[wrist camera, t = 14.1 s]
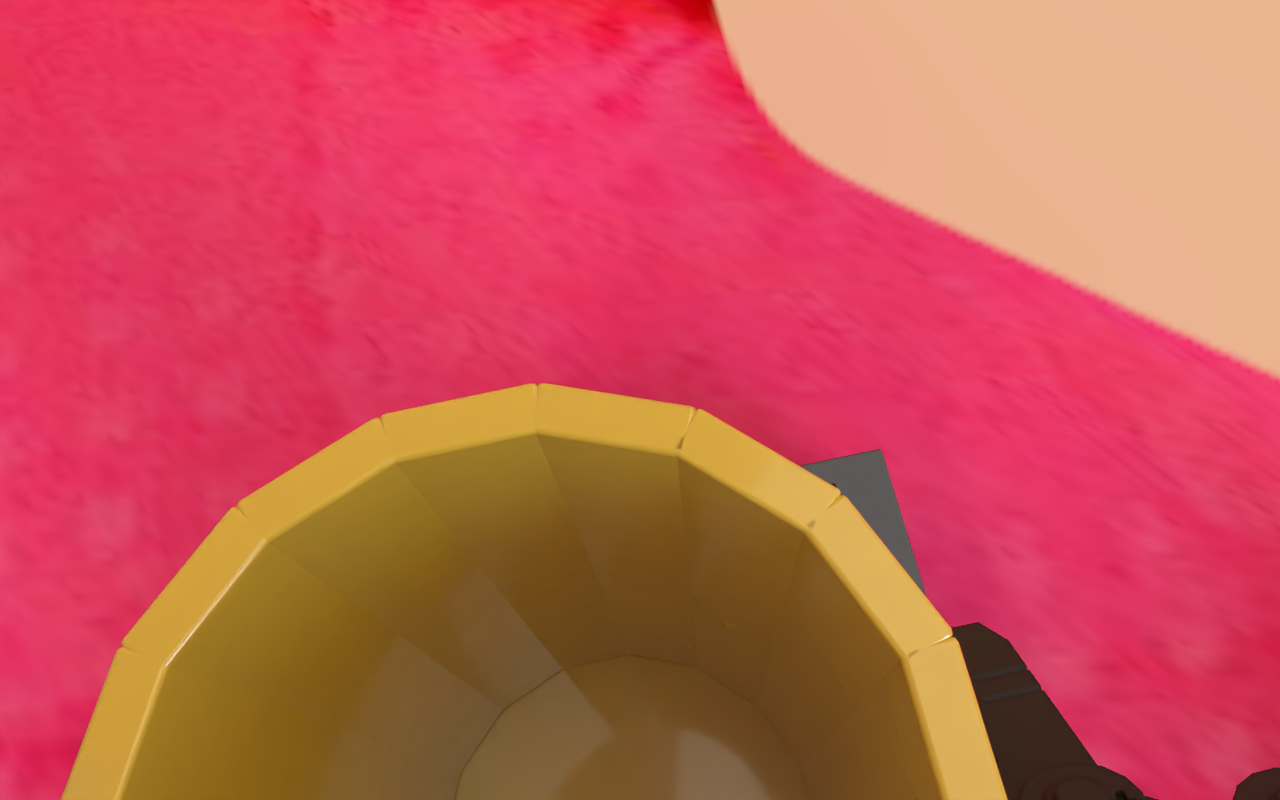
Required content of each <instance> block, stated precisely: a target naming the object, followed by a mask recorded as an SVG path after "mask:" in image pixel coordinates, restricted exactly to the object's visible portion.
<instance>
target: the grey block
mask: <svg viewBox="0 0 1280 800" xmlns="http://www.w3.org/2000/svg"><path fill="white" fill-rule="evenodd" d="M800 467H802V468H804V469H806V470H807V471H809V472H811V473H812V474H814V475H816V476H818V477H819V478H821V479H823V480H824V481H826V482H828V483H830V484H832V483H835V484H836V486H837V488H838V489H839V490H840V491H841V494H842V495H844V496H846V497H847V498H848V499H849V500H850V501H851V503H852V504H853V505H854V506H855V508H856V509H857V510H858V511H859V513H860V514H861V515H862V516H863V518H864V519H865V520H866V521H867V523H868V524H869V525H870V526H871V528H872V529H873V530H874V532H875V533H876V534H877V535H878V537H879V538H880V539H881V540H882V542H883V543H884V544H885V545H886V547H887V548H888V549H889V550H890V552H891V553H892V554H893V555H894V557H895V558H896V559H897V561H898V562H899V563H900V564H901V566H902V567H903V568H904V569H905V571H906V572H907V573H908V574H909V576H910V577H911V578H912V579H913V581H914V582H915V583H916V584H917V586H918V587H919V588H920V589H921V591H922V592H923V593H924V595H925V596H926V593H925V590H924V587H923V583H922V580H921V577H920V573H919V570H918V567H917V564H916V560H915V557H914V554H913V551H912V547H911V544H910V541H909V537H908V534H907V531H906V528H905V524H904V521H903V518H902V515H901V511H900V508H899V505H898V502H897V498H896V495H895V492H894V488H893V485H892V482H891V479H890V475H889V472H888V469H887V466H886V462H885V459H884V456H883V452H882V451H881V450H880V449H877V450H872V451H868V452H863V453H858V454H853V455H848V456H844V457H839V458H834V459H829V460H825V461H820V462H815V463H810V464H806V465H801V466H800ZM926 597H927V596H926Z"/></svg>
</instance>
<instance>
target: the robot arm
mask: <svg viewBox="0 0 1280 800" xmlns="http://www.w3.org/2000/svg"><path fill="white" fill-rule="evenodd" d="M831 485H833V486H835V487H836V488H837V486H836V484H835V483H832V484H831ZM841 495H842V494H841ZM951 629H952V632H953V635H952V637H955V638H956V639H957V641H958V642H959V644H960V648H961V651H962V654H963V657H964V660H965V664H966V667H967V670H968V673H969V676H970V679H971V683H972V686H973V689H974V692H975V695H976V699H977V702H978V705H979V708H980V711H981V715H982V718H983V721H984V724H985V727H986V730H987V734H988V737H989V740H990V743H991V746H992V750H993V753H994V756H995V759H996V762H997V766H998V769H999V772H1000V775H1001V778H1002V781H1003V785H1004V788H1005V791H1006V794H1007V797H1008V800H1158V799H1154V798H1150V797H1147V796H1144V795H1143V792H1142V791H1141V790H1139V789H1138V788H1137V787H1136V786H1135V785H1134V784H1133V783H1132V782H1131V781H1129V780H1128V779H1127V778H1126V777H1125V776H1122V775H1120V774H1118V773H1116V772H1114V771H1112V770H1109V769H1107V768H1105V767H1102V766H1098V765H1097V764H1096V763H1095V761H1094V760H1093V759H1092V757H1091V756H1090V754H1089V753H1088V752H1087V750H1086V749H1085V747H1084V746H1083V745H1082V743H1081V742H1080V740H1079V739H1078V738H1077V736H1076V735H1075V733H1074V732H1073V731H1072V729H1071V728H1070V726H1069V725H1068V724H1067V722H1066V721H1065V719H1064V718H1063V717H1062V715H1061V714H1060V712H1059V711H1058V709H1057V708H1056V707H1055V705H1054V704H1053V702H1052V701H1051V700H1050V698H1049V697H1048V695H1047V694H1046V693H1045V691H1042V690H1041V686H1040V684H1039V683H1038V681H1037V680H1036V679H1035V677H1034V676H1033V674H1032V673H1031V672H1030V670H1029V671H1028V670H1027V668H1026V665H1025V663H1024V662H1023V660H1022V659H1021V658H1020V656H1019V655H1018V653H1017V652H1016V651H1015V649H1014V648H1013V646H1012V645H1011V643H1010V642H1009V641H1008V640H1007V639H1005V638H1003V637H1002V636H1000V635H998V634H997V633H995V632H993V631H992V630H990V629H988V628H987V627H985V626H984V625H982V624H980V623H979V622H977V623H972V624H967V625H963V626H958V627H953V628H951ZM1233 800H1280V768H1272V769H1268V770H1264V771H1260V772H1256V773H1253V774H1251V775H1250V776H1249V777H1247V778H1246V779H1245V780H1244V781H1242V782H1241V783H1240V784H1239V785H1237V788H1236V791H1235V794H1234V798H1233Z"/></svg>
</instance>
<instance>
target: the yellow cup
mask: <svg viewBox="0 0 1280 800" xmlns="http://www.w3.org/2000/svg"><path fill="white" fill-rule="evenodd" d="M952 635H953V632H952V629H951V627H950V626H949V625H948V624H947V622H946V621H945V620H944V618H943V617H942V616H941V615H940V613H939V612H938V611H937V610H936V608H935V607H934V606H933V605H932V603H931V602H930V601H929V600H928V598H927V597H926V596H925V595H924V593H923V592H922V591H921V589H920V588H919V587H918V586H917V584H916V583H915V582H914V581H913V579H912V578H911V577H910V576H909V574H908V573H907V572H906V571H905V569H904V568H903V567H902V566H901V564H900V563H899V562H898V561H897V559H896V558H895V557H894V555H893V554H892V553H891V552H890V550H889V549H888V548H887V547H886V545H885V544H884V543H883V542H882V540H881V539H880V538H879V537H878V535H877V534H876V533H875V532H874V530H873V529H872V528H871V526H870V525H869V524H868V523H867V521H866V520H865V519H864V518H863V516H862V515H861V514H860V513H859V511H858V510H857V509H856V508H855V506H854V505H853V504H852V503H851V501H850V500H849V499H848V498H847V497H846V496H844V495H841V491H840V490H839V489H838V488H836V487H835V486H833V485H831V484H830V483H828V482H826V481H824V480H823V479H821V478H819V477H818V476H816V475H814V474H812V473H811V472H809V471H807V470H806V469H804V468H802V467H800V466H799V465H797V464H795V463H794V462H792V461H790V460H788V459H787V458H785V457H783V456H782V455H780V454H778V453H776V452H775V451H773V450H771V449H770V448H768V447H766V446H764V445H763V444H761V443H759V442H758V441H756V440H754V439H752V438H751V437H749V436H747V435H746V434H744V433H742V432H740V431H739V430H737V429H735V428H734V427H732V426H730V425H728V424H727V423H725V422H723V421H722V420H720V419H718V418H716V417H715V416H713V415H711V414H710V413H708V412H706V411H704V410H702V409H697V410H696V409H695V408H693V407H692V406H686V405H680V404H674V403H667V402H661V401H655V400H648V399H642V398H636V397H629V396H623V395H617V394H610V393H604V392H598V391H591V390H585V389H579V388H572V387H566V386H560V385H553V384H547V383H541V384H539V386H538V385H537V384H533V383H530V384H526V385H521V386H516V387H511V388H506V389H502V390H497V391H492V392H487V393H482V394H478V395H473V396H468V397H463V398H459V399H454V400H449V401H444V402H439V403H435V404H430V405H425V406H420V407H415V408H411V409H406V410H401V411H396V412H391V413H387V414H384V415H382V416H381V419H379V418H374V419H372V420H370V421H368V422H367V423H365V424H363V425H362V426H360V427H359V428H357V429H355V430H354V431H352V432H350V433H349V434H347V435H346V436H344V437H342V438H341V439H339V440H337V441H336V442H334V443H333V444H331V445H329V446H328V447H326V448H324V449H323V450H321V451H320V452H318V453H316V454H315V455H313V456H311V457H310V458H308V459H307V460H305V461H303V462H302V463H300V464H299V465H297V466H295V467H294V468H292V469H290V470H289V471H287V472H286V473H284V474H282V475H281V476H279V477H277V478H276V479H274V480H273V481H271V482H269V483H268V484H266V485H264V486H263V487H261V488H260V489H258V490H256V491H255V492H253V493H251V494H250V495H248V496H247V497H245V498H243V499H242V500H240V501H239V502H238V503H237V507H232V508H231V509H229V510H228V512H227V513H226V514H225V515H224V517H223V518H222V519H221V520H220V521H219V523H218V524H217V525H216V526H215V528H214V529H213V530H212V531H211V532H210V534H209V535H208V536H207V537H206V539H205V540H204V541H203V542H202V543H201V545H200V546H199V547H198V548H197V549H196V551H195V552H194V553H193V554H192V556H191V557H190V558H189V559H188V560H187V562H186V563H185V564H184V565H183V567H182V568H181V569H180V570H179V571H178V573H177V574H176V575H175V576H174V578H173V579H172V580H171V581H170V582H169V584H168V585H167V586H166V587H165V589H164V590H163V591H162V592H161V593H160V595H159V596H158V597H157V598H156V600H155V601H154V602H153V603H152V604H151V606H150V607H149V608H148V609H147V611H146V612H145V613H144V614H143V615H142V617H141V618H140V619H139V620H138V622H137V623H136V624H135V625H134V626H133V628H132V629H131V630H130V631H129V632H128V634H127V635H126V636H125V637H124V639H123V640H122V643H121V644H122V646H123V647H121V648H119V649H118V650H117V651H116V653H115V656H114V659H113V661H112V664H111V667H110V669H109V672H108V675H107V677H106V680H105V683H104V685H103V688H102V691H101V693H100V696H99V699H98V701H97V704H96V707H95V710H94V712H93V715H92V718H91V720H90V723H89V726H88V728H87V731H86V734H85V736H84V739H83V742H82V744H81V747H80V750H79V752H78V755H77V758H76V760H75V763H74V766H73V768H72V771H71V774H70V776H69V779H68V782H67V784H66V787H65V790H64V792H63V795H62V798H61V800H1008V797H1007V794H1006V791H1005V788H1004V785H1003V781H1002V778H1001V775H1000V772H999V769H998V766H997V762H996V759H995V756H994V753H993V750H992V746H991V743H990V740H989V737H988V734H987V730H986V727H985V724H984V721H983V718H982V715H981V711H980V708H979V705H978V702H977V699H976V695H975V692H974V689H973V686H972V683H971V679H970V676H969V673H968V670H967V667H966V664H965V660H964V657H963V654H962V651H961V648H960V644H959V642H958V641H957V639H956V638H955V637H952Z"/></svg>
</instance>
